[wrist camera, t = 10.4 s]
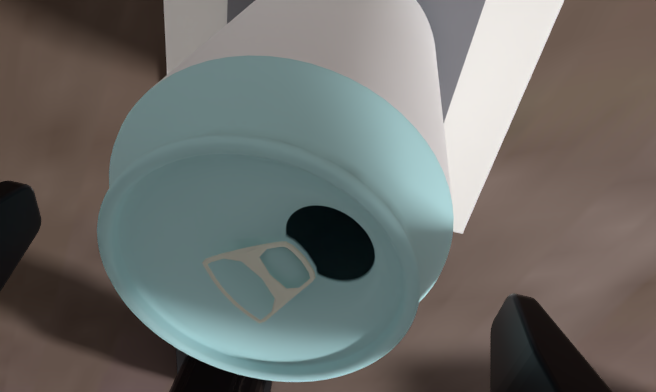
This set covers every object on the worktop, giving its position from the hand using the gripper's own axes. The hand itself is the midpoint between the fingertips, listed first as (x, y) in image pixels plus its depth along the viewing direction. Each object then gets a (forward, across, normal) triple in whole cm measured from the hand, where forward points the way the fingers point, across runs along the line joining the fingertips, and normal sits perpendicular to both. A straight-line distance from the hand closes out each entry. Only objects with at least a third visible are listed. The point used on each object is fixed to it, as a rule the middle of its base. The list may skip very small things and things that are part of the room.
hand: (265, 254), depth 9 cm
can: (+12, 0, 0) cm, 12 cm away
